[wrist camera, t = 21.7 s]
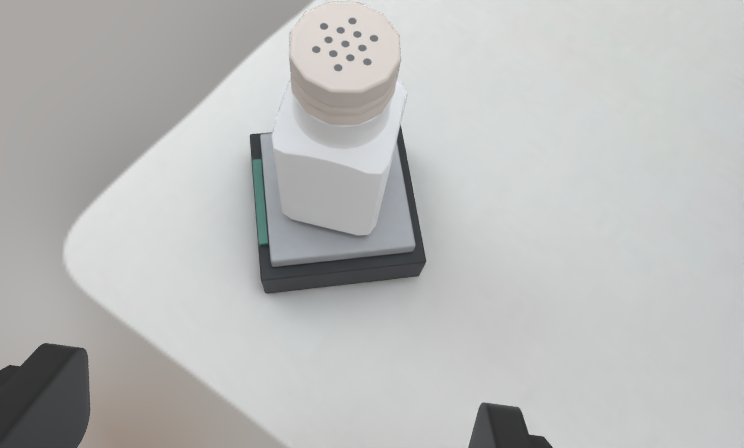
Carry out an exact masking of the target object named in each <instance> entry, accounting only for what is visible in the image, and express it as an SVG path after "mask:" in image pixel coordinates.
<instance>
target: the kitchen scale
mask: <svg viewBox="0 0 744 448" xmlns="http://www.w3.org/2000/svg"><path fill="white" fill-rule="evenodd" d="M271 136H272V133H261V134H251V135H250V145H251V158H252V171H253V184H254V197H255V210H256V223H257V236H258V249H259V262H260V274H261V282H262V285H263V288H264V291H265V293H274V292H282V291H291V290H300V289H308V288H317V287H326V286H334V285H343V284H352V283H361V282H369V281H378V280H387V279H395V278H404V277H413V276H419V275H420V273H421V271H422V269H423V267H424V265H425V263H426V258H425V252H424V247H423V242H422V236H421V231H420V226H419V220H418V215H417V209H416V204H415V199H414V193H413V188H412V183H411V177H410V172H409V166H408V161H407V156H406V150H405V145H404V140H403V134H402V129H401V124H400V128H399V133H398V137H397V141H396V145H395V150H394V154H393V158H392V162H391V167H390V171H389V175H388V179H387V183H386V187H385V191H384V195H383V199H382V203H381V208H380V212H379V216H378V220H377V224H376V226H375V228H374V229H373V230H372V232H371V233H370V234H369V235H359V236H358V235H354V234H350V233H346V232H342V231H337V230H333V229H329V228H325V227H321V226H317V225H313V224H309V223H305V222H301V221H296V220H292V219H290V218H289V217H287V216H286V215H284V214H283V213H282V208H281V201H280V194H279V187H278V180H277V173H276V166H275V159H274V152H273V145H272V137H271Z"/></svg>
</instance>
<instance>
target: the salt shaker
mask: <svg viewBox="0 0 744 448" xmlns="http://www.w3.org/2000/svg"><path fill="white" fill-rule="evenodd" d="M289 60H290V72H291V78H290V80H289V83H288V85H287V88H286V91H285V93H284V96H283V99H282V102H281V105H280V108H279V111H278V114H277V118H276V122H275V125H274V129H273V132H272V136H271V137H272V145H273V152H274V159H275V166H276V173H277V180H278V187H279V194H280V201H281V208H282V213H283V214H284V215H286V216H287V217H289V218H290V219H292V220H296V221H301V222H305V223H309V224H313V225H317V226H321V227H325V228H329V229H333V230H337V231H342V232H346V233H350V234H354V235H358V236H359V235H369V234H370V233H371V232H372V230H373V229H374V228H375V226H376V224H377V220H378V216H379V212H380V208H381V203H382V199H383V195H384V191H385V187H386V183H387V179H388V175H389V171H390V167H391V162H392V158H393V154H394V150H395V145H396V141H397V137H398V133H399V128H400V124H401V120H402V116H403V111H404V107H405V103H406V99H407V93H406V90H405V87H404V84H402V83H401V82H400V81H399V80H398V79H397V77H398V72H399V67H400V62H401V51H400V36H399V34H398V33H397V31H396V30H395V29H394V27H393V26H392V25H391V23H390V22H389V21H388V19H387V18H386V17H385V16H384V14H382V13H380V12H378V11H376V10H374V9H372V8H370V7H367V6H365V5H363V4H361V3H359V2H335V1H330V2H328V3H325V4H323V5H320V6H318V7H316V8H313V9H311V10H309V11H306V12H305V13H304V14H303V16H302V17H301V18H300V20H299V21H298V22H297V24H296V25H295V26H294V28H293V29H292V30H291V32H290V45H289Z"/></svg>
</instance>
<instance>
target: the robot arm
mask: <svg viewBox="0 0 744 448" xmlns="http://www.w3.org/2000/svg"><path fill="white" fill-rule="evenodd" d="M89 416H90V395H89V371H88V355H87V352H86V350H85V349H84V348H79V347H71V346H63V345H56V344H49V343H44V344H42V345H40V346H39V347H38V348H37V349H36V350H35V351H34V353H33V354H32V355H31V356H30V357H29V358H28V359H27V360H26V361H25V362H24V363H23V364H22V365H21V366H12V365H9V366H7V367H6V368H3V369H2V370H0V448H77V447H78V445H79V444H80V442H81V440H82V438H83V436H84V434H85V432H86V429H87V425H88V421H89ZM468 448H553V447H552V446H551V445H550V444H549V442H548V441H547V440H546V439H545V438H544V437H543V436H535V435H529V434H528V430H527V427H526V424H525V421H524V418H523V415H522V412H521V410H520V408H519V407H513V406H506V405H498V404H491V403H482V404H481V405H480V407H479V410H478V413H477V417H476V421H475V425H474V428H473V432H472V436H471V440H470V443H469V447H468Z"/></svg>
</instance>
